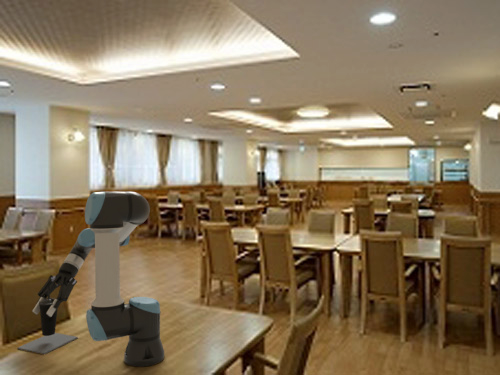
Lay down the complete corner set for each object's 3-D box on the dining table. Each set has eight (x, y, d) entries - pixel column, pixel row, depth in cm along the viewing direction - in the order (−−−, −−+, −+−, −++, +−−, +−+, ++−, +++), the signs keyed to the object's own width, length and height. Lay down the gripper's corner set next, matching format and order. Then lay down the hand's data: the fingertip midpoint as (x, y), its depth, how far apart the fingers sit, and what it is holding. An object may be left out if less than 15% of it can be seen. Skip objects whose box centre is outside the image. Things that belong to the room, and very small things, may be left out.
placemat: (77, 338, 186) (77, 336, 186) (44, 354, 169) (44, 353, 169) (52, 333, 191) (52, 332, 191) (17, 349, 174) (17, 347, 174)
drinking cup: (62, 330, 183) (62, 284, 182) (52, 337, 176) (52, 289, 175) (45, 329, 184) (45, 283, 183) (34, 336, 177) (34, 288, 176)
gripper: (93, 273, 190) (65, 321, 175) (58, 269, 197) (28, 315, 182) (84, 263, 185) (55, 312, 170) (49, 259, 192) (18, 306, 177)
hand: (41, 313), depth 176 cm, fingers closed on drinking cup, 7 cm apart
